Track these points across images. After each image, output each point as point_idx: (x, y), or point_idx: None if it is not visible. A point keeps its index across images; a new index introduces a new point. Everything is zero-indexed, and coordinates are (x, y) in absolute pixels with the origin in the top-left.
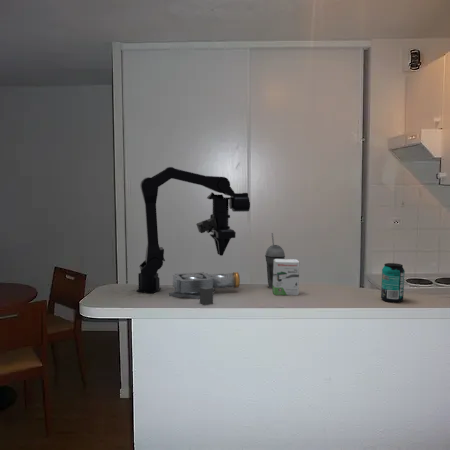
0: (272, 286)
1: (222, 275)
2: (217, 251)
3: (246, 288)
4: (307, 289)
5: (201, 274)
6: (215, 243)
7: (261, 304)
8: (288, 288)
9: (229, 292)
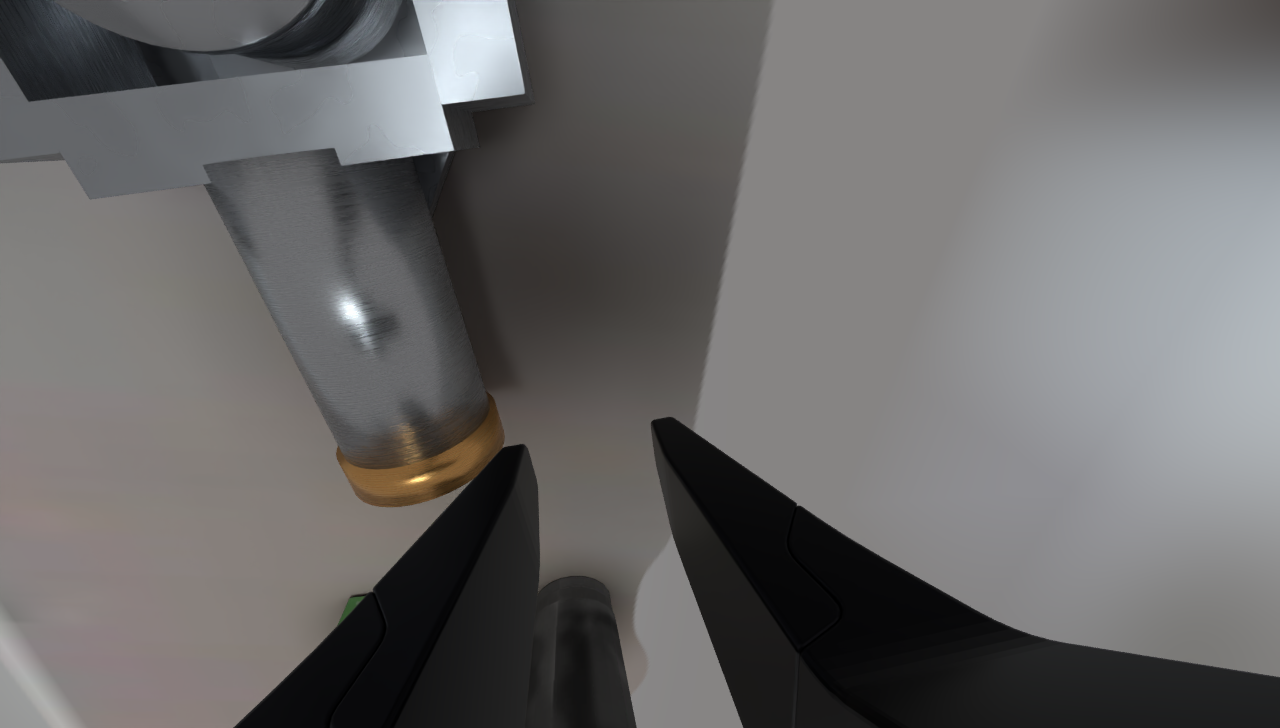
0: (538, 603)
1: (293, 340)
2: (660, 443)
3: (542, 462)
4: None
5: (431, 51)
6: (788, 546)
7: (39, 518)
8: None
9: None
